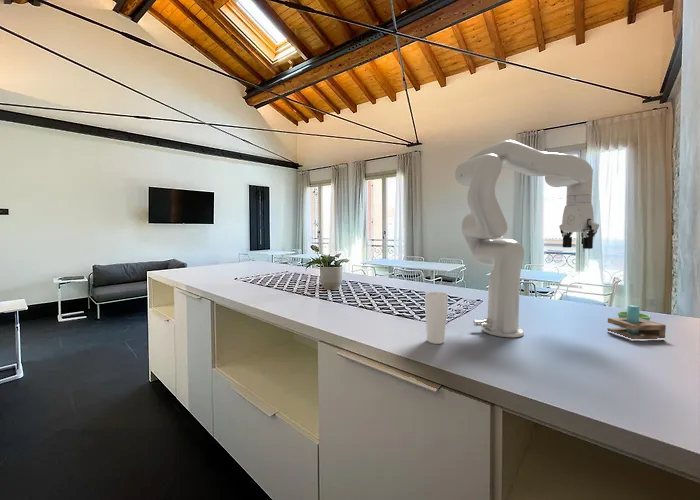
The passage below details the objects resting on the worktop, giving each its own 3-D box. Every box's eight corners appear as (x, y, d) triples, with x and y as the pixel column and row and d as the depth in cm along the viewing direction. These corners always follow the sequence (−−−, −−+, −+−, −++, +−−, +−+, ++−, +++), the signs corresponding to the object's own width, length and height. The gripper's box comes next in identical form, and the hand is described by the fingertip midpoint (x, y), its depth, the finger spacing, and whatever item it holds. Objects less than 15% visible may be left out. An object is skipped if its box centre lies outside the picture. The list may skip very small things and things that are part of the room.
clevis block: (632, 341, 101) (632, 325, 100) (607, 332, 110) (607, 318, 109) (664, 340, 101) (665, 325, 101) (637, 332, 110) (638, 317, 110)
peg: (632, 338, 104) (633, 307, 103) (623, 335, 107) (625, 305, 106) (640, 338, 104) (642, 307, 103) (632, 335, 107) (633, 305, 106)
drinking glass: (447, 339, 102) (448, 292, 101) (446, 346, 95) (447, 296, 95) (425, 337, 104) (426, 291, 103) (423, 343, 98) (423, 294, 97)
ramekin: (636, 323, 122) (637, 311, 121) (657, 330, 113) (657, 318, 112) (611, 322, 123) (611, 311, 122) (629, 329, 114) (630, 317, 113)
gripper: (552, 203, 126) (550, 247, 127) (588, 198, 109) (586, 249, 109) (570, 203, 126) (569, 247, 127) (609, 198, 109) (606, 249, 110)
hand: (576, 248), depth 118 cm, fingers open, 9 cm apart
